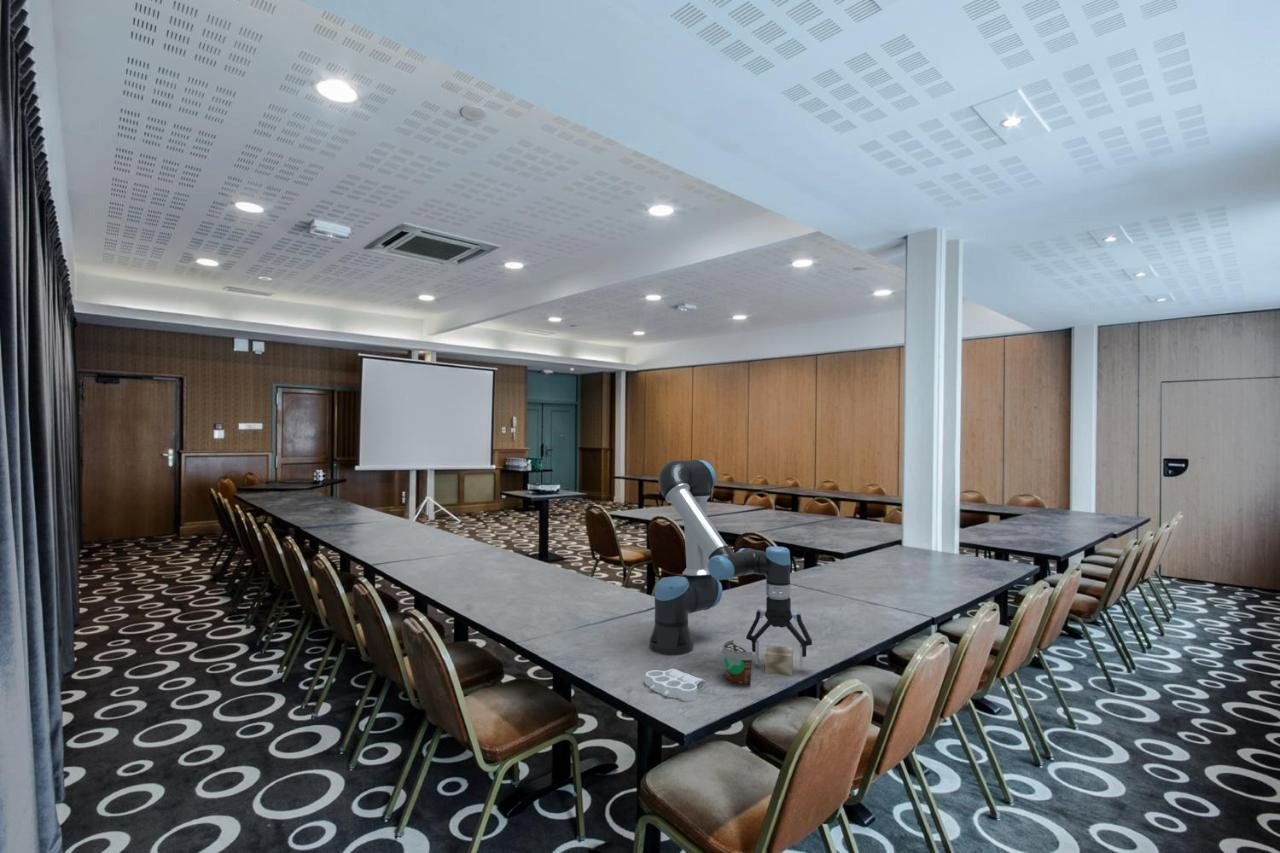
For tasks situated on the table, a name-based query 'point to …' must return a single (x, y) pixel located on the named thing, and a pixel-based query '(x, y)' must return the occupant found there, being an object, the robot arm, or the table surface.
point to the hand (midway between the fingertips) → (779, 664)
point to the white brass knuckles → (674, 684)
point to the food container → (737, 664)
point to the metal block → (779, 660)
